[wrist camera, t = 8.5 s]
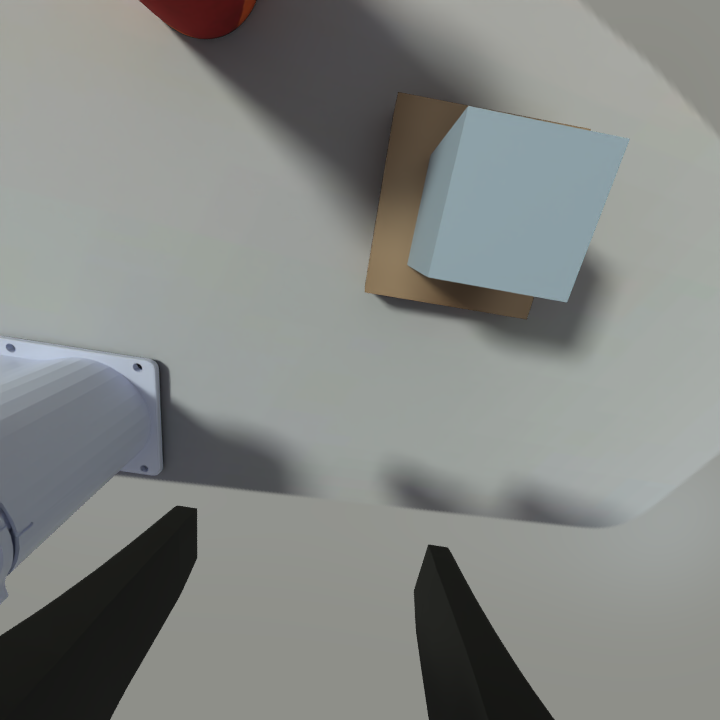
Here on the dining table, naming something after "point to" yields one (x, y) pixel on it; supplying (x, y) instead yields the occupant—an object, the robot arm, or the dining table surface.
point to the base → (400, 210)
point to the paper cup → (201, 15)
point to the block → (513, 203)
